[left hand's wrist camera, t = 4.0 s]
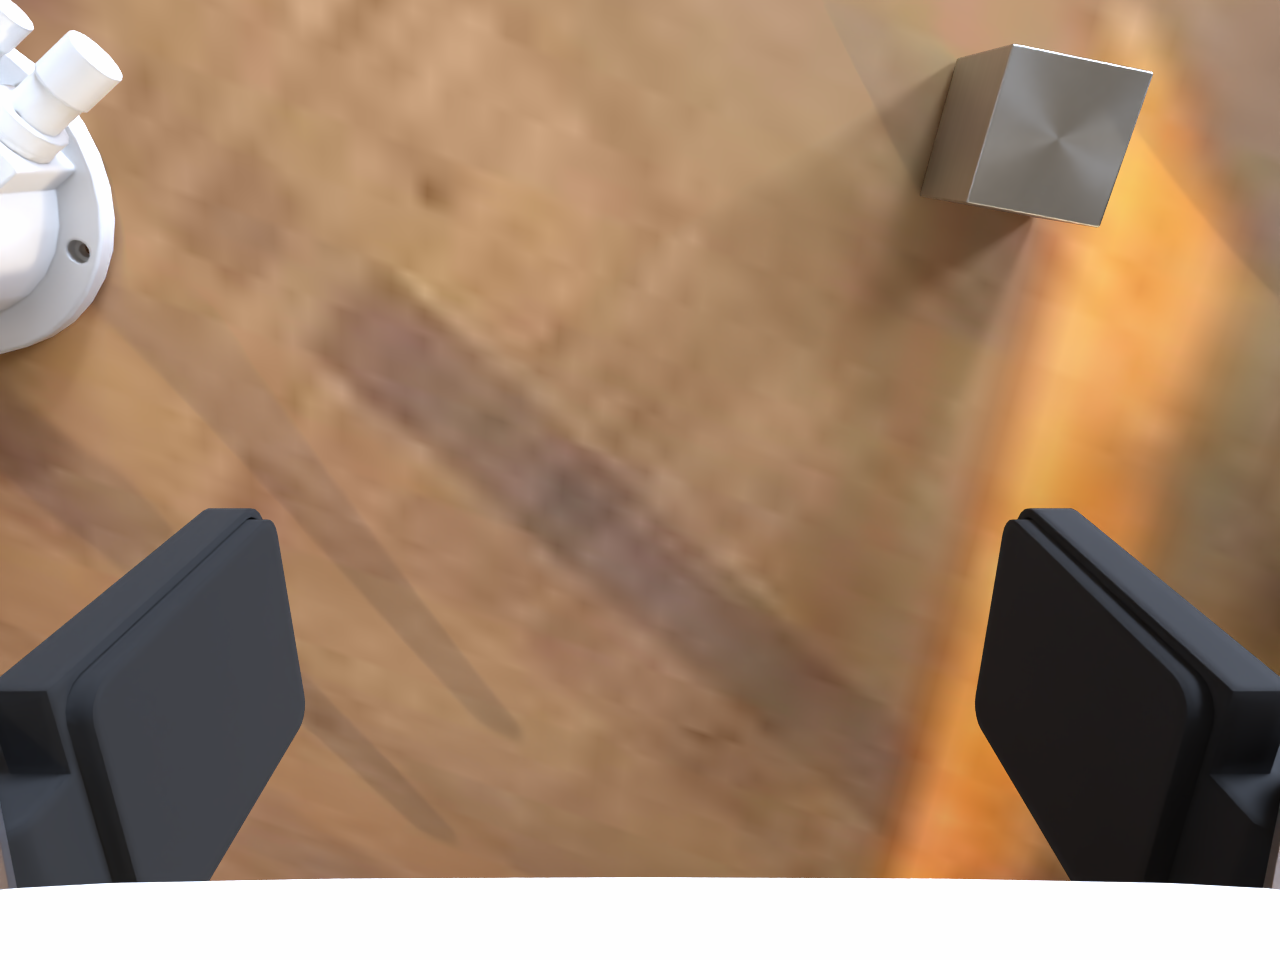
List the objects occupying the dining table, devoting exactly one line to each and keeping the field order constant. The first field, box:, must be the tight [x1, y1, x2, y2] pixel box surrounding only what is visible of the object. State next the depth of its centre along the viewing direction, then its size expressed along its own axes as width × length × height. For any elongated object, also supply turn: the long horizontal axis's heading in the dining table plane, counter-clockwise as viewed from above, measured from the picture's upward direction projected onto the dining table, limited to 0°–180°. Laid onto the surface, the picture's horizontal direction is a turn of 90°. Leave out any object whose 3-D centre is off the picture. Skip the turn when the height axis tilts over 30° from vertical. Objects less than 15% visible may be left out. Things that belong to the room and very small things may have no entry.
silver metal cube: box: [920, 44, 1153, 227], centre depth 31 cm, size 5×5×5 cm
